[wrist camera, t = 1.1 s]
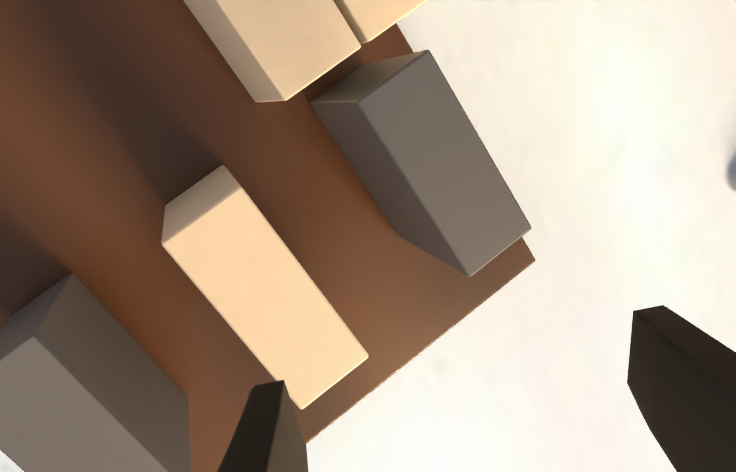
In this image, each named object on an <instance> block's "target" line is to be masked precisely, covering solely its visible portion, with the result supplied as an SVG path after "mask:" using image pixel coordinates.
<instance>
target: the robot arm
mask: <svg viewBox="0 0 736 472" xmlns="http://www.w3.org/2000/svg"><path fill="white" fill-rule="evenodd" d="M627 383H628V385H629V388H630V390H631V392H632V394H633V396H634V398H635V400H636V403H637V405H638V407H639V409H640V411H641V413H642V415H643V417H644V419H645V421H646V423H647V425H648V427H649V429H650V430H651V432H652V433H653V435H654V437H655V438H656V440H657V441H658V443H659V444H660V446H661V448H662V449H663V451H664V452H665V454H666V455H667V457H668V458H669V460H670V462H671V463H672V465H673V466H674V468H675V469H676V471H677V472H736V352H734V351H733V350H731V349H729V348H728V347H726V346H725V345H723V344H722V343H720V342H719V341H717V340H716V339H714V338H713V337H711V336H709V335H708V334H706V333H705V332H703V331H702V330H700V329H699V328H697V327H696V326H694V325H693V324H691V323H690V322H688V321H687V320H685V319H684V318H682V317H681V316H679V315H678V314H676V313H674V312H673V311H671V310H670V309H668V308H667V307H665V306H663V305H662V306H657V307H652V308H646V309H641V310H636V311H633V321H632V333H631V344H630V356H629V368H628V380H627ZM217 472H308V464H307V452H306V444H305V441H304V438H303V435H302V432H301V429H300V426H299V423H298V420H297V417H296V414H295V411H294V408H293V405H292V402H291V399H290V396H289V393H288V390H287V387H286V384H285V381H284V380H279V381H274V382H269V383H264V384H259V385H254V387H253V388H252V389H251V390H250V393H249V396H248V399H247V402H246V404H245V407H244V410H243V412H242V415H241V418H240V420H239V423H238V425H237V428H236V430H235V432H234V435H233V437H232V439H231V442H230V444H229V446H228V449H227V451H226V453H225V455H224V457H223V460H222V462H221V464H220V466H219V468H218V470H217Z"/></svg>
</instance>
